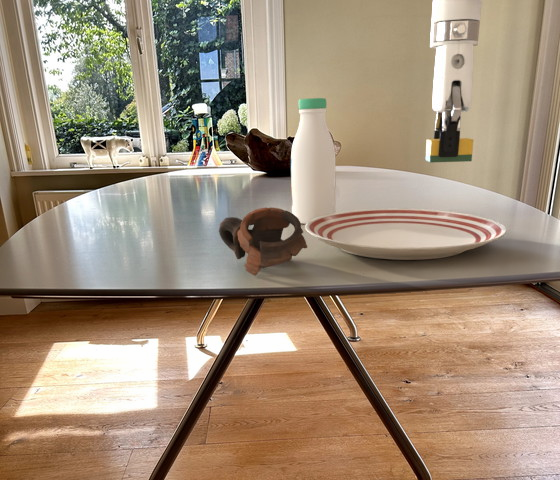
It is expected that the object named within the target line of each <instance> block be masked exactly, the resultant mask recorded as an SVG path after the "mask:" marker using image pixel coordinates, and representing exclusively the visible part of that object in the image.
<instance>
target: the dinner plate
mask: <svg viewBox="0 0 560 480" xmlns="http://www.w3.org/2000/svg"><path fill="white" fill-rule="evenodd" d="M304 229H305V231H306V232H307V233H308V234H310V235H311V236H312V237H314V238H315V239H317V240H318V241H320V242H322V243H325V244H327V245H329V246H332V247H334V248H337V249H339V250H341V251H343V252H345V253H348V254H351V255H355V256H360V257H366V258H371V259H379V260H381V259H383V260H392V261H393V260H396V261H397V260H398V261H418V260H421V261H422V260H435V259H442V258H443V259H444V258H449V257H453V256H457V255H460V254H462V253H464V252H466V251H470V250H474V249H477V248H479V247H483V246H485V245H488V244H490V243H492V242H496V241H498V240H500V239H502V238H503V237H505V236H506V235H507V228H506V227H505V225H504V224H502V223H501V222H500V221H496V220H494V219H491V218H488V217H484V216H481V215H475V214H470V213H463V212H456V211H449V210H439V209H426V208H425V209H423V208H407V207H404V208H401V207H399V208H398V207H391V208H388V207H387V208H366V209H355V210H347V211H340V212H335V213H333V214H329V215H325V216H321V217H318V218H315V219H313V220H310V221H309V222H308V223H307V224H304Z"/></svg>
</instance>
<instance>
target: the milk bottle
mask: <svg viewBox="0 0 560 480" xmlns="http://www.w3.org/2000/svg"><path fill="white" fill-rule="evenodd" d="M298 109H299V110H298V114H299V115H300V116H299V123H298V128H297V131H296V133H295V136H294V139H293V142H292V146H291V150H290V151H291V154H290V179H291V180H290V181H291V182H290V183H291V185H290V186H291V213H292V214H294V215H295V216H296V217H297V218H298V219H299V221H300V224H304V225H306V224H307V223H308V222H309V221H310V220H313V219H315V218H318V217H321V216H325V215H329V214H333V213H336V209H337V207H336V201H337V200H336V199H337V198H336V193H337V192H336V191H337V190H336V188H337V185H336V176H337V175H336V174H337V173H336V149H335V143H334V141H333V137H332V136H331V132H330V131H329V128H328V125H327V121H326V113H327V99H326V98H325V97H317V98H316V97H313V98H311V97H309V98H300V99H298Z"/></svg>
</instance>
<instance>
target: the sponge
mask: <svg viewBox="0 0 560 480" xmlns="http://www.w3.org/2000/svg"><path fill="white" fill-rule="evenodd" d="M439 141H440V139H434V138H427V139H426V145H425V158H424V159H425V161H426V162H428V163H459V162H462V163H464V162H472V161H473V150H474V139H473V138H468V137H460V140H459V151H458V156H457V157H439V155H438V154H439Z"/></svg>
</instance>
